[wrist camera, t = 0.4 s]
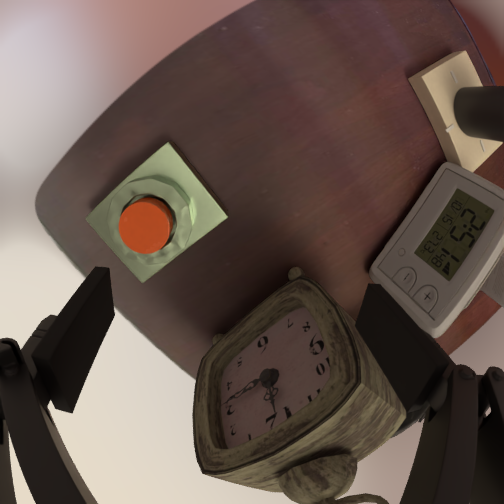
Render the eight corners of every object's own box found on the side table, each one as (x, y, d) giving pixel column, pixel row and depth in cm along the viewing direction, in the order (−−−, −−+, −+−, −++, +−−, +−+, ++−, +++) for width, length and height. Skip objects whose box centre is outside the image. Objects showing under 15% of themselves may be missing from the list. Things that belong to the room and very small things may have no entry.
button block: (172, 140, 23) (163, 141, 20) (228, 210, 26) (229, 223, 23) (93, 212, 25) (76, 224, 21) (147, 273, 28) (138, 293, 24)
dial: (446, 98, 21) (515, 98, 13) (471, 80, 21) (535, 79, 12) (466, 145, 23) (532, 160, 15) (489, 124, 23) (551, 134, 14)
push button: (151, 186, 21) (145, 190, 20) (183, 225, 23) (180, 232, 21) (115, 218, 22) (108, 225, 20) (147, 255, 23) (142, 264, 22)
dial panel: (405, 80, 23) (419, 77, 20) (453, 52, 21) (468, 49, 19) (450, 176, 27) (465, 181, 25) (490, 138, 26) (505, 141, 23)
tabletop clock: (297, 246, 28) (455, 500, 5) (347, 299, 31) (475, 494, 8) (195, 337, 31) (196, 578, 8) (252, 374, 34) (292, 573, 11)
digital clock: (445, 152, 26) (517, 168, 16) (471, 210, 29) (532, 240, 19) (347, 250, 29) (400, 304, 19) (386, 300, 32) (434, 355, 22)
